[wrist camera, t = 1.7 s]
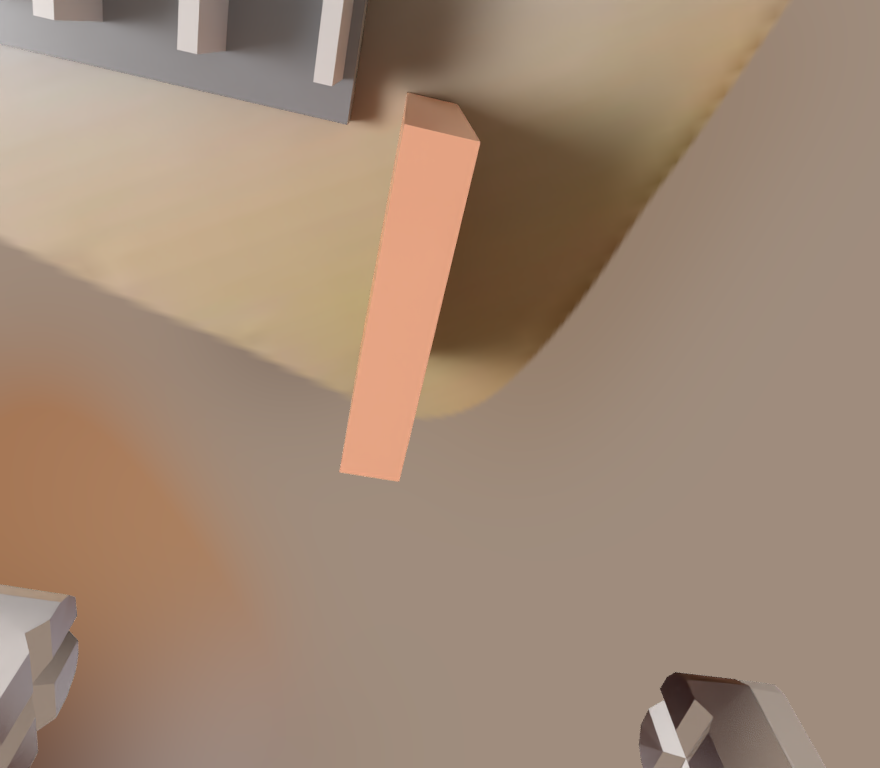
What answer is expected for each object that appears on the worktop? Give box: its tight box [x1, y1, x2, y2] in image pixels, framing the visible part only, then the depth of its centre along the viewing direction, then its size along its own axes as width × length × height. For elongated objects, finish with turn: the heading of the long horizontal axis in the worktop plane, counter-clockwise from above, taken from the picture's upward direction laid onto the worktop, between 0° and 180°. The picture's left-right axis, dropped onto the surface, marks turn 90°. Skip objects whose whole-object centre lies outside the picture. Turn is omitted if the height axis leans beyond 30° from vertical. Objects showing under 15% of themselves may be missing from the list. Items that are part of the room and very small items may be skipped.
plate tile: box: [340, 92, 480, 482], centre depth 24 cm, size 11×2×10 cm, turn 167°
